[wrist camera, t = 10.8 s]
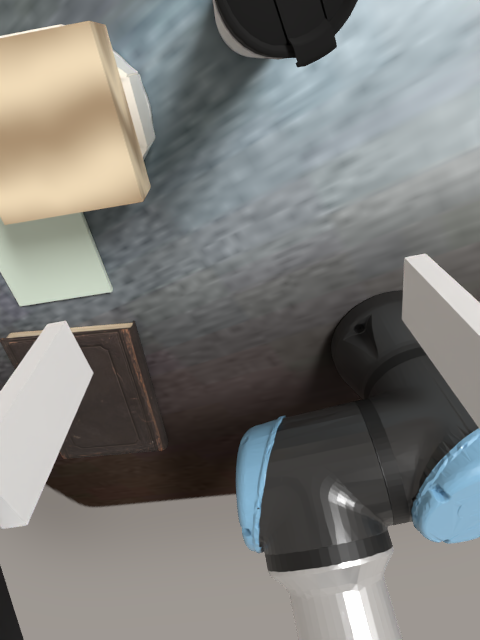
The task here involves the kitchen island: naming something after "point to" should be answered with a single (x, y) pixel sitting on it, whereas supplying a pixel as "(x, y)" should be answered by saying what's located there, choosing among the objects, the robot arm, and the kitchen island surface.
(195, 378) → the kitchen island surface
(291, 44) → the travel mug
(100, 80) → the tan box
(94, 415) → the hardcover book
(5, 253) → the mat
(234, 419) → the kitchen island surface
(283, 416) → the robot arm
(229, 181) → the kitchen island surface
